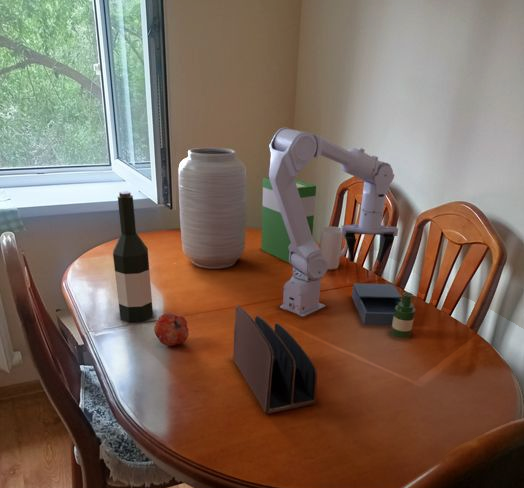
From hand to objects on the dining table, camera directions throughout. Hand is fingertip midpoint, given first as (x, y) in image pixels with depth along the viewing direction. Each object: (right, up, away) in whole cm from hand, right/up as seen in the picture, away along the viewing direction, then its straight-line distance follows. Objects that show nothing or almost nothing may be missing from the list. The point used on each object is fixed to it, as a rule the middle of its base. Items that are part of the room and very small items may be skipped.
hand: (365, 260), depth 132 cm
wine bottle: (-59, -15, -10) cm, 61 cm away
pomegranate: (-48, -22, -21) cm, 57 cm away
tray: (+3, -14, -4) cm, 15 cm away
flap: (+3, -8, -2) cm, 9 cm away
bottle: (+5, -20, -15) cm, 25 cm away
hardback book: (-20, +7, +34) cm, 40 cm away
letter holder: (-26, -29, -34) cm, 52 cm away
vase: (-43, +4, +26) cm, 51 cm away
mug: (-5, +2, +26) cm, 27 cm away
